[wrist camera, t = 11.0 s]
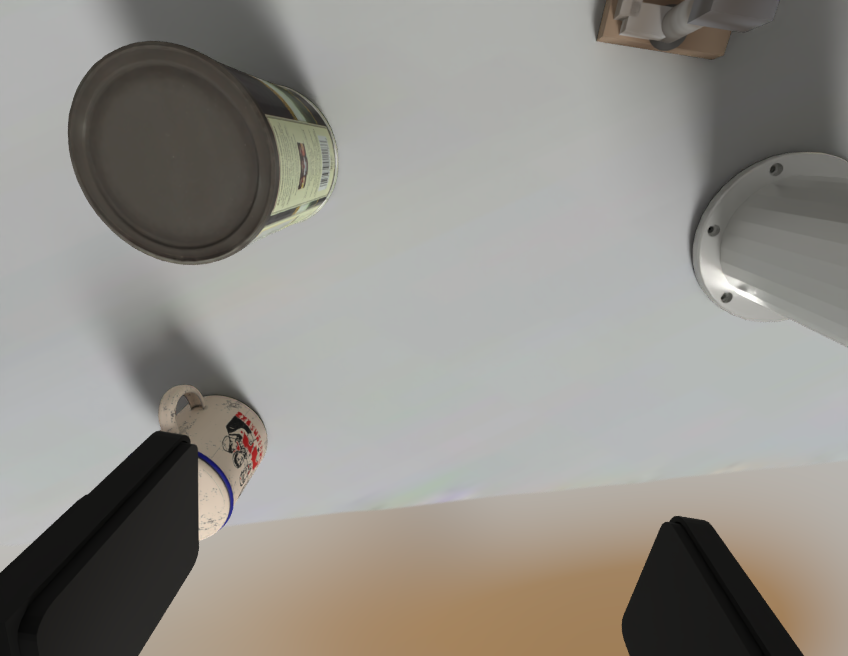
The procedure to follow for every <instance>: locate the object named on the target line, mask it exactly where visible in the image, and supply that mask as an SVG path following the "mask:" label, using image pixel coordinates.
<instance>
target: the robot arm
mask: <svg viewBox="0 0 848 656" xmlns="http://www.w3.org/2000/svg"><path fill="white" fill-rule="evenodd" d="M771 167H772V169H771V171H770V168H771ZM709 227H711V229H710V231H709V232H708V229H709ZM693 266H694V270H695V275H696V278H697V280H698V282H699V284H700V286H701V289H702V290H703V291H704V293H705V294H706V295H707V296H708V298H709V299H710V300H711V301H712V302H714V303H715V304H716V305H717V306H719V307H720V308H721V309H723V310H725V311H727V312H729V313H730V314H732V315H734V316H737V317H740V318H743V319H745V320H751V321H757V322H779V321H784V320H789V319H790V320H792V321H794V322H796V323H798V324H800V325H802V326H804V327H806V328H808V329H811V330H813V331H815V332H817V333H819V334H821V335H823V336H825V337H827V338H829V339H831V340H833V341H835V342H837V343H839V344H841V345H843V346H845V347H847V348H848V162H847V161H846V160H844V159H842V158H840V157H837V156H833V155H830V154H826V153H818V152H793V153H786V154H781V155H777V156H772V157H769V158H767V159H765V160H762V161H760V162H757V163H755V164H753V165H751V166H750V167H748V168H747V169H745V170H743V171H742V172H740V173H738V174H737V175H736V176H735V177H734V178H732V179H731V180H730V181H729V182H728V183H727V184H725V185H724V186H723V187H722V188H721V190H720V191H719V192H718V193H717V194H716V196H715V197H714V198H713V199H712V200H711V202H710V203H709V205H708V207H707V208H706V210H705V212H704V213H703V215H702V217H701V220H700V222H699V225H698V227H697V230H696V233H695V238H694V243H693ZM722 295H723V296H722ZM721 296H722V297H721ZM198 551H199V506H198V447H197V445H195V444H191V441H190V438H189V436H187V435H182V434H176V433H170V432H164V431H156V432H154V433H153V434H152V435H151V436H150V437H149V438H147V439H146V440H145V441H144V442H143V443H142V444H141V445H140V446H139V447H138V448H137V449H136V450H135V451H134V452H133V453H132V454H130V455H129V456H128V457H127V458H126V459H125V460H124V461H123V462H122V463H121V464H120V465H119V466H118V467H117V468H116V469H115V470H113V471H112V472H111V473H110V474H109V475H108V476H107V477H106V478H105V479H104V480H103V481H102V482H101V483H100V484H99V485H98V486H96V487H95V488H94V489H93V490H92V491H91V492H90V493H89V494H88V495H85V496H84V497H82V498H81V499H79V500H78V501H77V502H76V503H75V504H74V505H73V506H71V507H70V508H69V509H68V510H67V511H66V512H65V513H64V514H63V515H62V516H61V517H60V518H59V519H58V520H56V521H55V522H54V523H53V524H52V525H51V526H50V527H49V528H48V529H47V530H46V531H45V532H44V533H42V534H41V535H40V536H39V537H38V538H37V539H36V540H35V541H34V542H33V543H32V544H31V545H30V546H29V547H28V548H26V549H25V550H24V551H23V552H22V553H21V554H20V555H19V556H18V557H17V558H16V559H15V560H14V561H13V562H11V563H10V564H9V565H8V566H7V567H6V568H5V569H4V570H3V571H2V572H1V573H0V656H138V655H139V654H140V652H141V650H142V649H143V647H144V646H145V644H146V642H147V641H148V639H149V637H150V636H151V634H152V633H153V631H154V629H155V628H156V626H157V625H158V623H159V621H160V620H161V618H162V616H163V615H164V613H165V612H166V610H167V608H168V607H169V605H170V604H171V602H172V600H173V599H174V597H175V596H176V594H177V592H178V591H179V589H180V587H181V586H182V584H183V583H184V581H185V579H186V578H187V576H188V575H189V573H190V571H191V570H192V568H193V566H194V564H195V562H196V559H197V556H198ZM622 634H623V638H624V641H625V644H626V647H627V649H628V652H629V655H630V656H804V655H803V654H802V652H801V651H800V649H799V648H798V647H797V645H796V644H795V642H794V641H793V640H792V638H791V637H790V635H789V634H788V633H787V631H786V630H785V628H784V627H783V626H782V624H781V623H780V621H779V620H778V618H777V617H776V616H775V614H774V613H773V611H772V610H771V609H770V607H769V606H768V604H767V603H766V601H765V600H764V599H763V598H762V596H761V594H760V593H759V592H758V590H757V589H756V587H755V586H754V585H753V583H752V582H751V580H750V579H749V577H748V576H747V575H746V573H745V572H744V570H743V569H742V568H741V566H740V565H739V563H738V562H737V560H736V559H735V558H734V556H733V555H732V553H731V552H730V551H729V549H728V548H727V546H726V545H725V544H724V542H723V541H722V539H721V538H720V537H719V535H718V534H717V532H716V531H715V529H714V528H713V527H712V525H710V524H709V522H707V521H705V520H699V519H693V518H687V517H681V516H674V517H673V518H672V519H671V520H670V522H665V523H663V524H662V526H661V528H660V530H659V532H658V535H657V537H656V539H655V542H654V544H653V547H652V549H651V551H650V554H649V556H648V559H647V561H646V563H645V566H644V568H643V570H642V573H641V575H640V577H639V580H638V582H637V585H636V587H635V589H634V592H633V594H632V596H631V599H630V601H629V604H628V606H627V608H626V611H625V613H624V616H623V619H622Z"/></svg>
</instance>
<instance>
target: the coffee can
mask: <svg viewBox="0 0 848 656" xmlns="http://www.w3.org/2000/svg"><path fill="white" fill-rule="evenodd" d="M68 144H69V152H70V157H71V161H72V165H73V169H74V172H75V175H76V178H77V180H78V183H79V185H80V187H81V189H82V191H83V193H84V195H85V197H86V199H87V200H88V202H89V204H90V205H91V206H92V208H93V209H94V211H95V212H96V214H97V215H98V216H99V217H100V218H101V220H102V221H103V222H104V223H105V224H106V225H107V226H108V227H109V228H110V229H111V230H112V231H113V232H114V233H115V234H116V235H117V236H118V237H120V238H121V239H122V240H124V241H125V242H126V243H128V244H129V245H131V246H132V247H134V248H135V249H137V250H139V251H141V252H143V253H145V254H147V255H149V256H152V257H154V258H156V259H159V260H162V261H166V262H171V263H176V264H183V265H199V264H207V263H212V262H216V261H219V260H222V259H225V258H227V257H229V256H231V255H233V254H235V253H237V252H239V251H240V250H242V249H243V248H245V247H246V246H247V245H248V244H251V243H253V242H255V241H257V240H259V239H261V238H264V237H266V236H268V235H270V234H272V233H275V232H277V231H279V230H281V229H283V228H285V227H288V226H290V225H292V224H295V223H298V222H301V221H304V220H306V219H308V218H309V217H311V216H312V215H314V214H315V213H316V212H318V211H319V210H320V209H321V208H322V207H323V206H324V204H325V203H326V202H327V200H328V199H329V197H330V195H331V193H332V191H333V189H334V186H335V184H336V179H337V174H338V152H337V146H336V142H335V138H334V136H333V133H332V130H331V128H330V126H329V124H328V122H327V121H326V119H325V118H324V116H323V115H322V113H321V112H320V111H319V110H318V108H317V107H316V106H315V105H314V104H313V103H312V102H310V101H309V100H308V99H307V98H305V97H304V96H303V95H301V94H299V93H298V92H296V91H294V90H292V89H290V88H287V87H285V86H281V85H276V84H273V83H270V82H268V81H265V80H262V79H259V78H257V77H254V76H251V75H249V74H246V73H244V72H241V71H238V70H236V69H233V68H231V67H228V66H226V65H224V64H221V63H219V62H217V61H215V60H213V59H211V58H210V57H208V56H206V55H204V54H202V53H200V52H197V51H195V50H193V49H190V48H187V47H185V46H182V45H178V44H173V43H169V42H160V41H145V42H137V43H133V44H129V45H127V46H123V47H121V48H119V49H116V50H114V51H113V52H111V53H109V54H107V55H105V56H104V57H103V58H102V59H101V60H99V61H98V62H96V63H95V64H94V65H93V66H92V67H91V69H90V70H89V71H88V72H87V74H86V75H85V76H84V78H83V79H82V81H81V82H80V84H79V86H78V88H77V90H76V93H75V95H74V98H73V102H72V105H71V109H70V113H69V121H68Z"/></svg>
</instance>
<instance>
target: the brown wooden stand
mask: <svg viewBox="0 0 848 656" xmlns="http://www.w3.org/2000/svg"><path fill="white" fill-rule="evenodd" d="M779 2H780V0H606V4H605V8H604V12H603V16H602V20H601V24H600V28H599V33H598V37H597V41H599V42H605V43H612V44H618V45H624V46H630V47H636V48H643V49H649V50H655V51H661V52H668V53H674V54H680V55H686V56H693V57H699V58H705V59H711V60H712V59H715V58H718V57H720V56H723V55H724V53H725V50H726V47H727V44H728V41H729V37H730V34H731V31H736V32H742V33H744V32H747V31H749V30H752V29H754V28H756V27H759V26H761V25H764V24H766V23H768V22H771V21H773V19H774V16H775V13H776V10H777V7H778V5H779Z"/></svg>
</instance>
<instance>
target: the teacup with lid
mask: <svg viewBox="0 0 848 656" xmlns="http://www.w3.org/2000/svg"><path fill="white" fill-rule="evenodd" d="M182 395H184V396H185V397H186V398H187V400H188V402H189V404H188V405H187V406H186V407H184V408H183V409H182V410H181V411H180V412H179V413H178V414H177V415H176V406H177V402H178V400H179V399H180V397H181V396H182ZM159 423H160V427H161V430H160V431H164V432H170V433H176V434H182V435H187V436H189V438H190V441H191V444H195V445H197V447H198V506H199V541H200V540H203V539H205V538H208V537H210V536H211V535H213V534H215V533H216V532H217V531H219V530H220V529H221V528H222V527H223V526H224V525H225V524H226V523H227V521H228V520H229V518H230V516H231V514H232V510H233V506H234V504H235V503H236V501H237V499H238V498H239V496H240V495H241V493H242V491H243V490H244V488H245V486H246V485H247V483H248V482H249V480H250V478H251V477H252V475H253V474H254V472H255V470H256V469H257V467H258V466H259V464H260V462H261V461H262V459H263V457H264V455H265V453H266V449H267V434H266V430H265V427H264V425H263V423H262V421H261V420H260V418H259V417H258V416H257V415H256V413H255V412H254V411H253V410H251V409H250V408H249V407H248V406H246V405H245V404H243V403H241V402H240V401H238V400H235V399H233V398H229V397H225V396H218V395H212V396H205V397H202V395H201V393H200V392H199V390H198V389H197V388H195V387H193V386H190V385H179V386H175V387H172V388H171V389H169V390H168V391H167V392H166V393H165V394H164V396H163V397H162V399H161V402H160V406H159ZM131 454H132V453H131Z"/></svg>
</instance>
